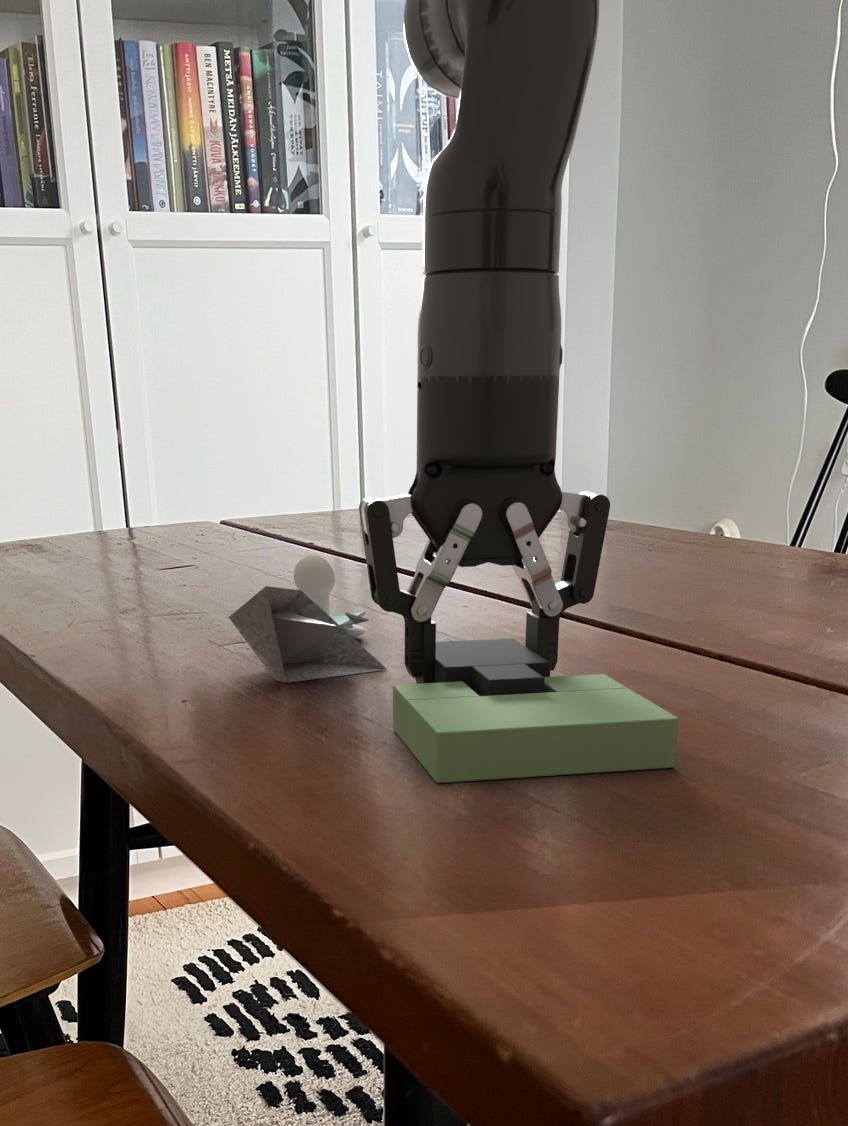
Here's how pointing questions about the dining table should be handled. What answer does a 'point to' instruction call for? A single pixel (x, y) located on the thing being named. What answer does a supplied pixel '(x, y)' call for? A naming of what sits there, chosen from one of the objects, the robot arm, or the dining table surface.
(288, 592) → the paper boat
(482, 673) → the black pad
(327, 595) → the pacifier
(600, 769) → the green pad
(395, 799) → the dining table surface
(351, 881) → the dining table surface
